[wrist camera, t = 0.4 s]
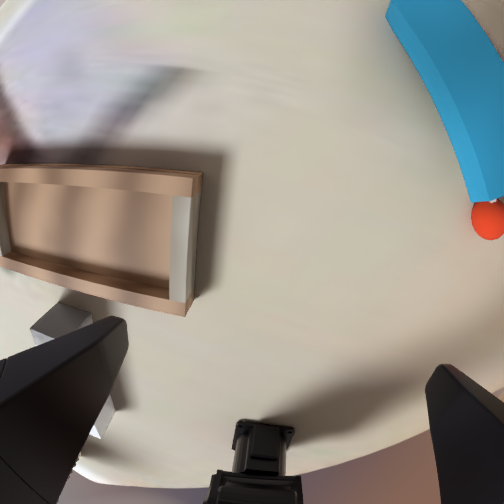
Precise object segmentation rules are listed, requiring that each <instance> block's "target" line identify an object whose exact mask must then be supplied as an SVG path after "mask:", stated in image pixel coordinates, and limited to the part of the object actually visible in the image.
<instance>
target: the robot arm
mask: <svg viewBox="0 0 504 504" xmlns="http://www.w3.org/2000/svg"><path fill="white" fill-rule="evenodd" d="M128 345H129V342H128V333H127V324H126V321H125V320H124V319H123V318H119V317H115V316H109V317H107V318H104V319H102V320H99V321H97V322H95V323H92V324H90V325H87V326H85V327H82V328H80V329H77V330H75V331H72V332H70V333H67V334H65V335H62V336H60V337H57V338H55V339H52V340H50V341H48V342H45V343H43V344H40V345H38V346H35V347H33V348H30V349H28V350H25V351H23V352H20V353H18V354H15V355H13V356H10V357H8V358H7V359H6V358H5V359H2V360H0V504H56V503H57V501H58V499H59V497H60V494H61V492H62V490H63V488H64V485H65V483H66V481H67V479H68V477H69V475H70V472H71V470H72V468H73V466H74V464H75V462H76V460H77V458H78V456H79V454H80V452H81V449H82V447H83V445H84V443H85V441H86V439H87V437H88V435H89V433H90V431H91V429H92V428H93V426H94V424H95V422H96V420H97V418H98V416H99V414H100V412H101V410H102V408H103V406H104V404H105V403H106V401H107V399H108V397H109V395H110V392H111V390H112V388H113V385H114V383H115V380H116V377H117V375H118V372H119V370H120V367H121V365H122V363H123V360H124V358H125V355H126V353H127V350H128ZM425 393H426V400H427V408H428V416H429V425H430V432H431V438H432V443H433V449H434V454H435V460H436V466H437V473H438V480H439V488H440V496H441V504H504V403H503V402H502V401H501V400H499V399H498V398H497V397H495V396H494V395H493V394H491V393H490V392H488V391H487V390H486V389H484V388H483V387H482V386H480V385H479V384H477V383H476V382H475V381H473V380H472V379H471V378H469V377H468V376H466V375H465V374H464V373H462V372H461V371H459V370H458V369H457V368H455V367H454V366H452V365H451V364H440V365H438V366H437V367H436V369H435V371H434V372H433V374H432V376H431V377H430V379H429V380H428V382H427V384H426V387H425ZM294 433H295V429H294V428H293V427H284V426H274V425H265V424H257V423H249V422H243V421H238V422H237V423H236V429H235V434H234V439H233V444H232V449H233V450H235V456H234V462H233V468H232V472H227V471H223V470H217V474H215V475H212V478H211V483H210V487H209V490H208V492H207V494H206V497H205V499H204V502H203V504H303V494H302V483H301V476H300V475H296V476H285V474H286V450H287V447H288V445H289V443H290V441H291V439H292V437H293V435H294Z"/></svg>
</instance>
